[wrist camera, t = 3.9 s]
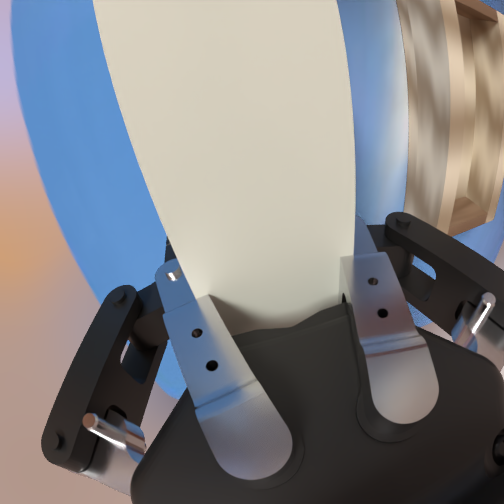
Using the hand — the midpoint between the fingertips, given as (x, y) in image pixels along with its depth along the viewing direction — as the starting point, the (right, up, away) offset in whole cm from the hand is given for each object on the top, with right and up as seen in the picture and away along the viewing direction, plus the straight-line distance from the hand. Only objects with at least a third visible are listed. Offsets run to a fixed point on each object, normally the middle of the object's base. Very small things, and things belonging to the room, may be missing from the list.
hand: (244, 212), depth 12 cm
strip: (-1, +3, 0) cm, 4 cm away
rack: (+15, +9, +2) cm, 18 cm away
